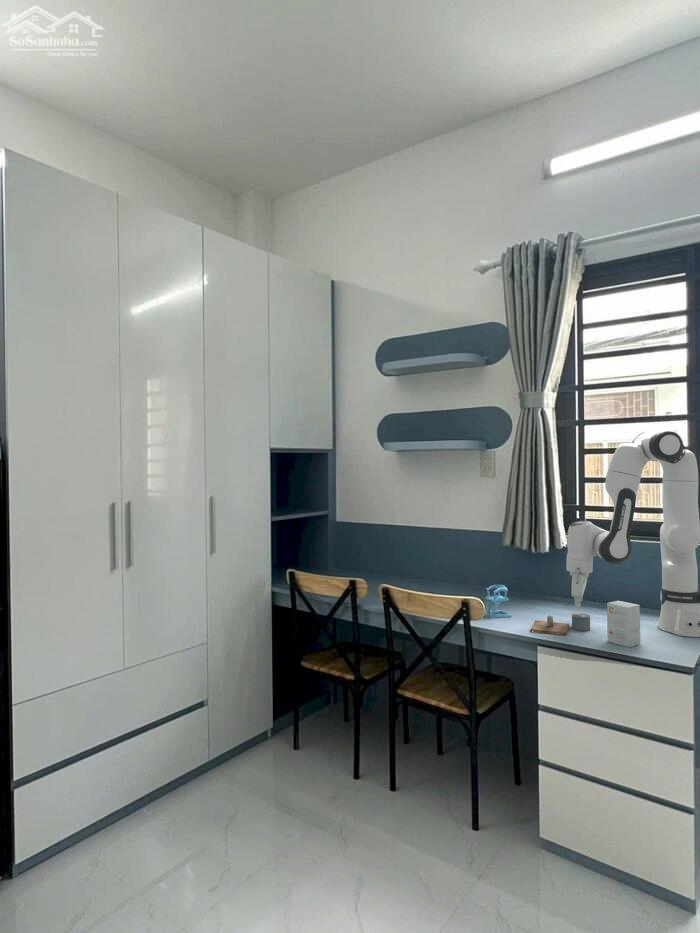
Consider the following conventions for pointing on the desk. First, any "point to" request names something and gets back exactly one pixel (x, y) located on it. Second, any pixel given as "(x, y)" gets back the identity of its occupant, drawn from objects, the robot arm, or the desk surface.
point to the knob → (581, 621)
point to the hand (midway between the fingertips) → (578, 604)
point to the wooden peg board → (550, 627)
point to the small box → (623, 623)
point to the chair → (496, 601)
